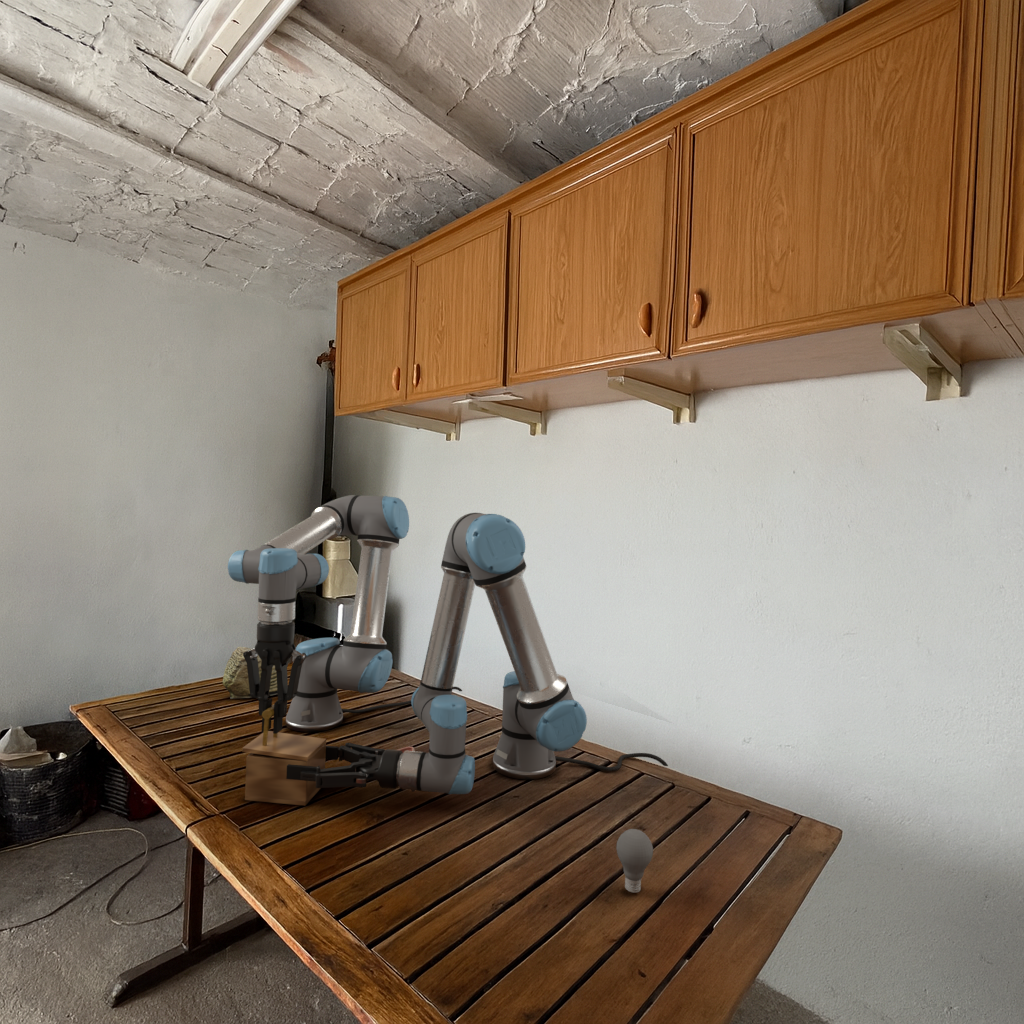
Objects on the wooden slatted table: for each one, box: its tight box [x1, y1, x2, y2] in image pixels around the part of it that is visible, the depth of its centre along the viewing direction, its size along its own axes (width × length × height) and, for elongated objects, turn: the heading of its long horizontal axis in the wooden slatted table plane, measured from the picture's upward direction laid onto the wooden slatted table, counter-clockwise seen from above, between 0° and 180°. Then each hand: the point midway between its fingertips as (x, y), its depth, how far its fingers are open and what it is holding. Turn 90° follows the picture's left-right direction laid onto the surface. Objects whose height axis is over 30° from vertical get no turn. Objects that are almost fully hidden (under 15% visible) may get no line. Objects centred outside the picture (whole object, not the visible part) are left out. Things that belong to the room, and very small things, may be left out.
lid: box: [241, 704, 327, 761], centre depth 135 cm, size 14×10×8 cm
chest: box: [244, 742, 327, 806], centre depth 135 cm, size 13×10×9 cm
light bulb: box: [615, 828, 654, 894], centre depth 106 cm, size 6×6×10 cm
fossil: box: [222, 646, 278, 699], centre depth 198 cm, size 9×18×15 cm, turn 132°
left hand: (272, 730), depth 135 cm, fingers closed on lid, 2 cm apart
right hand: (298, 760), depth 135 cm, fingers closed on chest, 10 cm apart
